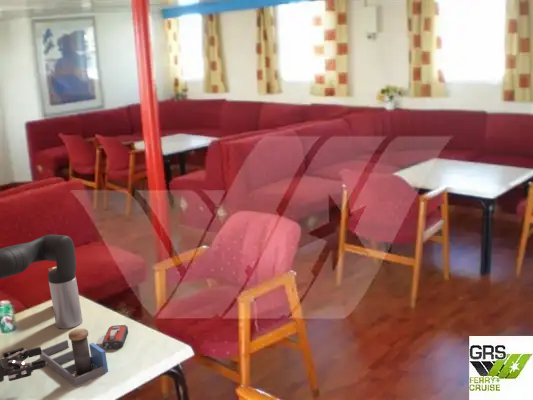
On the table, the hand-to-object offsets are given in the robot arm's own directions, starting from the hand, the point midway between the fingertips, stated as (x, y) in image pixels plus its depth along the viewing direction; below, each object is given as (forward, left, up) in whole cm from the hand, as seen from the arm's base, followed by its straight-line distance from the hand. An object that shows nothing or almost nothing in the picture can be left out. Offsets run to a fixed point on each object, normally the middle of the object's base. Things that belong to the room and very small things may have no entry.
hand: (43, 356), depth 185 cm
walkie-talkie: (-8, +25, -10) cm, 28 cm away
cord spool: (+3, +10, -10) cm, 14 cm away
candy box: (-49, +27, -10) cm, 57 cm away
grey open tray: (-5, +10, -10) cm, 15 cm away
